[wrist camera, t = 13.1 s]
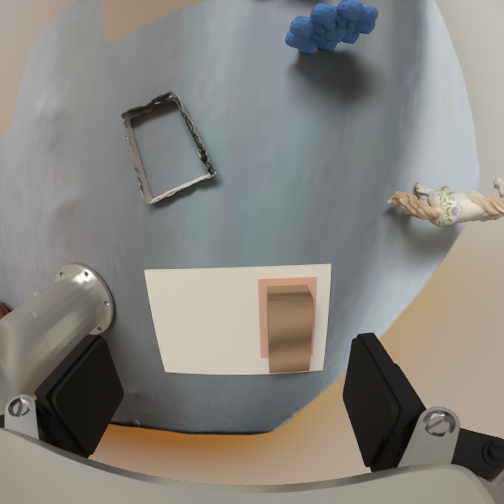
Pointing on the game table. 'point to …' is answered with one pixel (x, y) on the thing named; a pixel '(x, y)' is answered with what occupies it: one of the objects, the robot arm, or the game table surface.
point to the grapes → (331, 25)
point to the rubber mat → (228, 316)
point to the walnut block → (289, 328)
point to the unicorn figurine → (451, 205)
